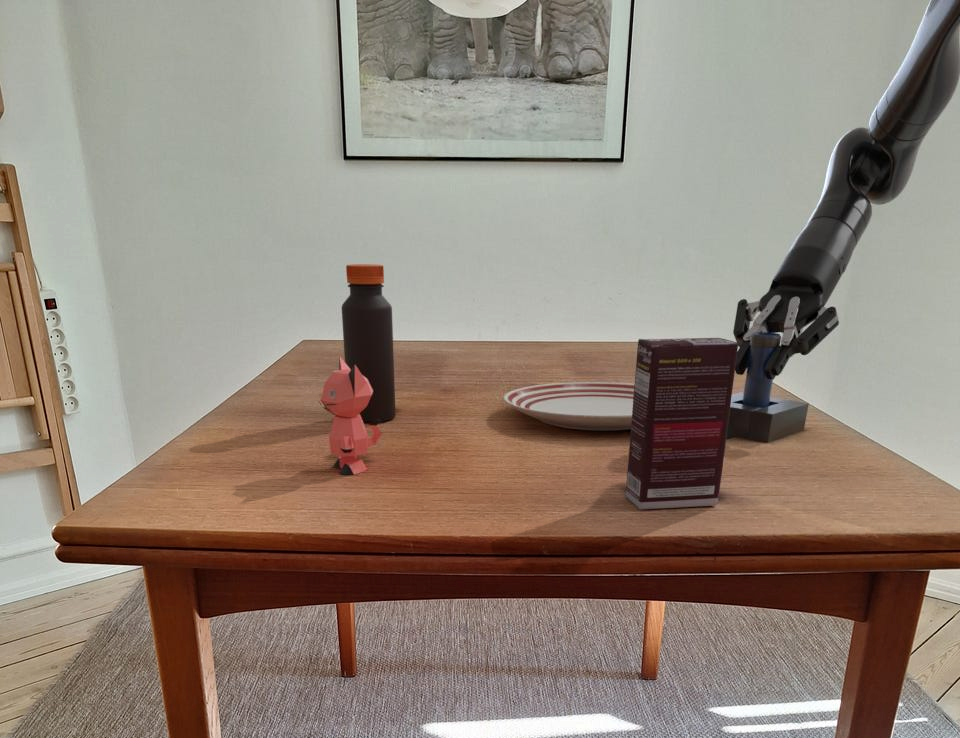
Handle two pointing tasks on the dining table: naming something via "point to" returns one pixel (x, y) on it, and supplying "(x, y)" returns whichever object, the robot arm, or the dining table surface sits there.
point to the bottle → (370, 338)
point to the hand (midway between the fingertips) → (753, 372)
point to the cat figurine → (349, 417)
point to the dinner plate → (577, 404)
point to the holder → (765, 419)
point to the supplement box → (679, 421)
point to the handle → (759, 369)
